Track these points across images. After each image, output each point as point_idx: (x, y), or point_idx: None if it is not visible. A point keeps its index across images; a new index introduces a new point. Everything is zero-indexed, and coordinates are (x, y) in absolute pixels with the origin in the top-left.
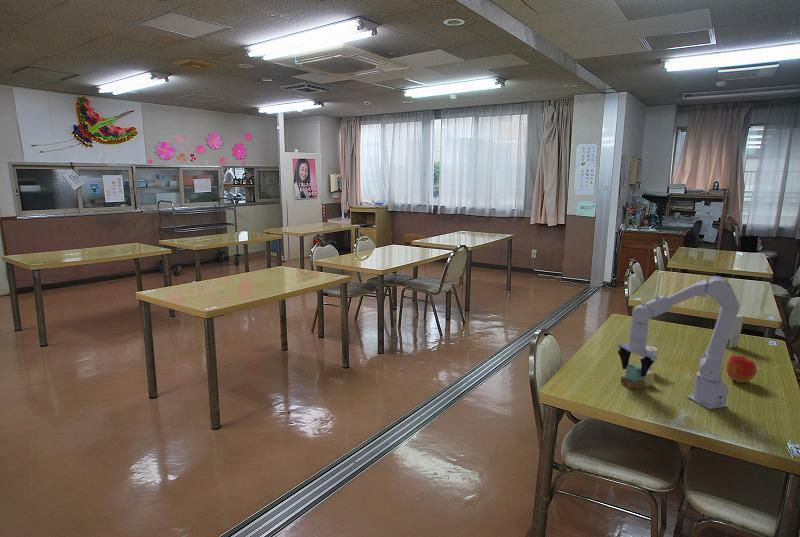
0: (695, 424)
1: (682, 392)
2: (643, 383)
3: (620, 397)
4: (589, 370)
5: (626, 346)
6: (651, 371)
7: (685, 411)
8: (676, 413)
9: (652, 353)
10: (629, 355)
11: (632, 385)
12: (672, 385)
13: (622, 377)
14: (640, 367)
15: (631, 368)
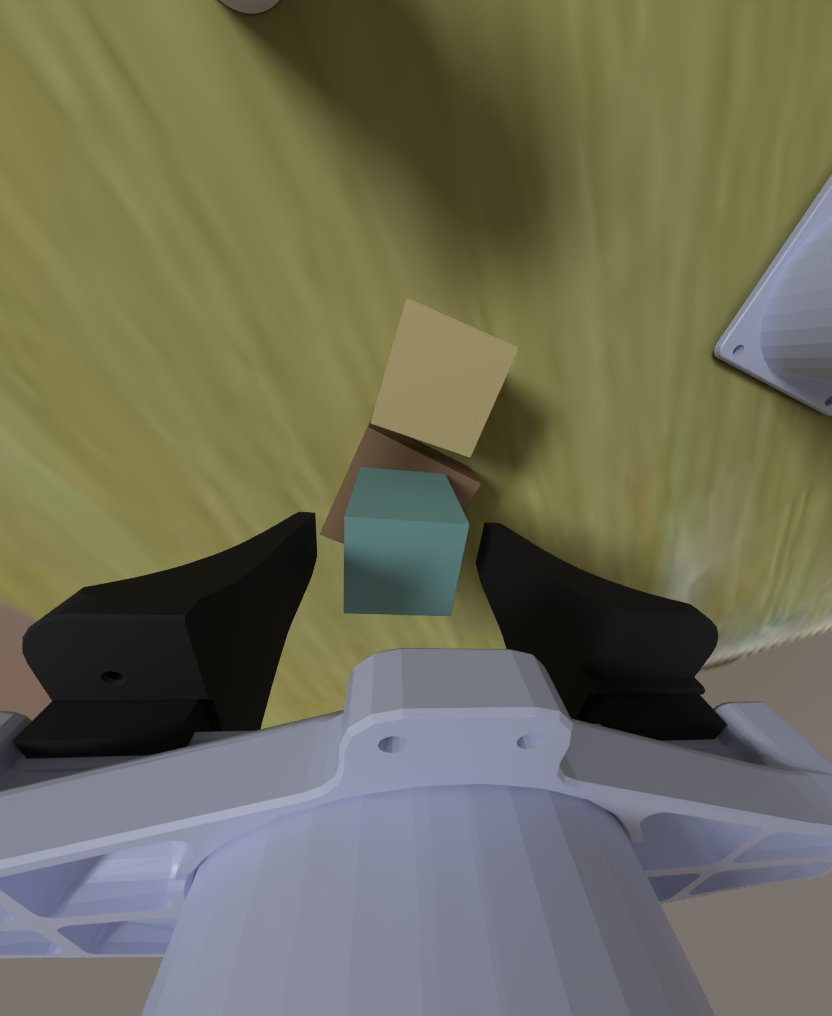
0: (733, 607)
1: (680, 280)
2: (470, 495)
3: (437, 645)
4: (81, 510)
5: (119, 883)
6: (480, 331)
7: (699, 541)
8: (663, 587)
9: (797, 825)
10: (252, 587)
11: None
12: (596, 183)
13: (337, 539)
14: (449, 544)
15: (398, 607)
